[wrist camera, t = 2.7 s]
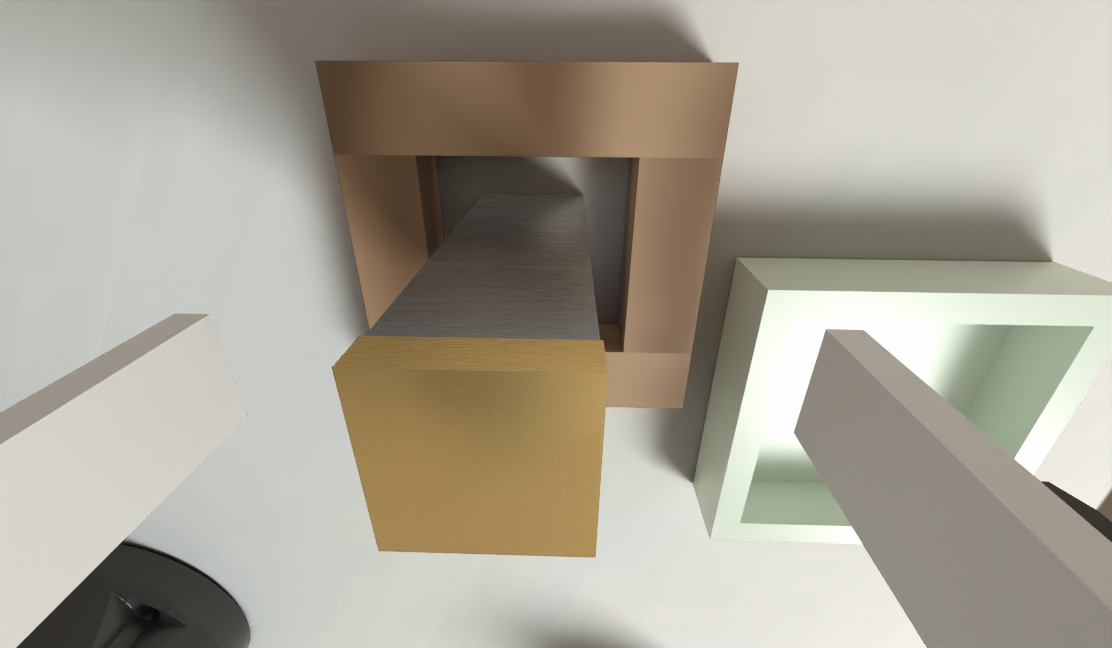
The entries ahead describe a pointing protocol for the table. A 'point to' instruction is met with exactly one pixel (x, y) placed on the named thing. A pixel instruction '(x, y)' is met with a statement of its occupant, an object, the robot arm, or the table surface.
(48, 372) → the table surface
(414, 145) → the socket block
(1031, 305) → the bin
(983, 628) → the robot arm
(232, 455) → the table surface
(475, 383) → the strut
